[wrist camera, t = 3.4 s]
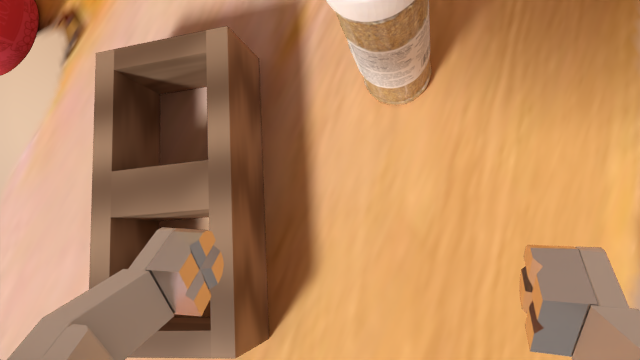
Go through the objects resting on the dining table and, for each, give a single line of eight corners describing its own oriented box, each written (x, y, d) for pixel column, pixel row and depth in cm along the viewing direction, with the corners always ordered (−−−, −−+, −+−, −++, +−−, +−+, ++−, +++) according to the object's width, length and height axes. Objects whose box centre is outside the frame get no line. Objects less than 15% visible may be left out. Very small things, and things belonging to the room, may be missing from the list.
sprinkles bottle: (379, 35, 29) (336, -126, 16) (443, 54, 28) (450, -105, 15) (353, 95, 29) (289, -19, 16) (416, 117, 28) (400, 10, 15)
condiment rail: (269, 338, 28) (235, 358, 24) (141, 339, 31) (87, 357, 26) (258, 58, 32) (227, 26, 27) (143, 79, 34) (96, 53, 29)
